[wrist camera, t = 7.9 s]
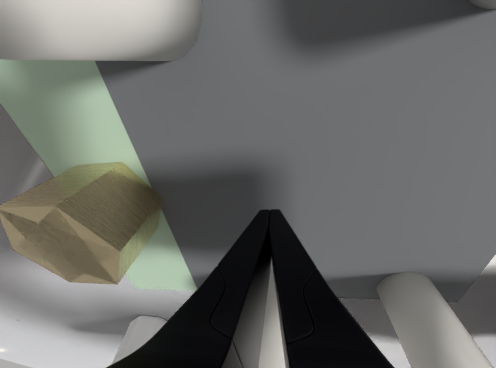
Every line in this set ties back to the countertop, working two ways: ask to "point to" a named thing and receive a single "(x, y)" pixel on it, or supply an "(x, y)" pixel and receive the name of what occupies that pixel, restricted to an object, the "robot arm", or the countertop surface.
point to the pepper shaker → (138, 334)
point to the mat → (294, 136)
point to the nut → (84, 222)
